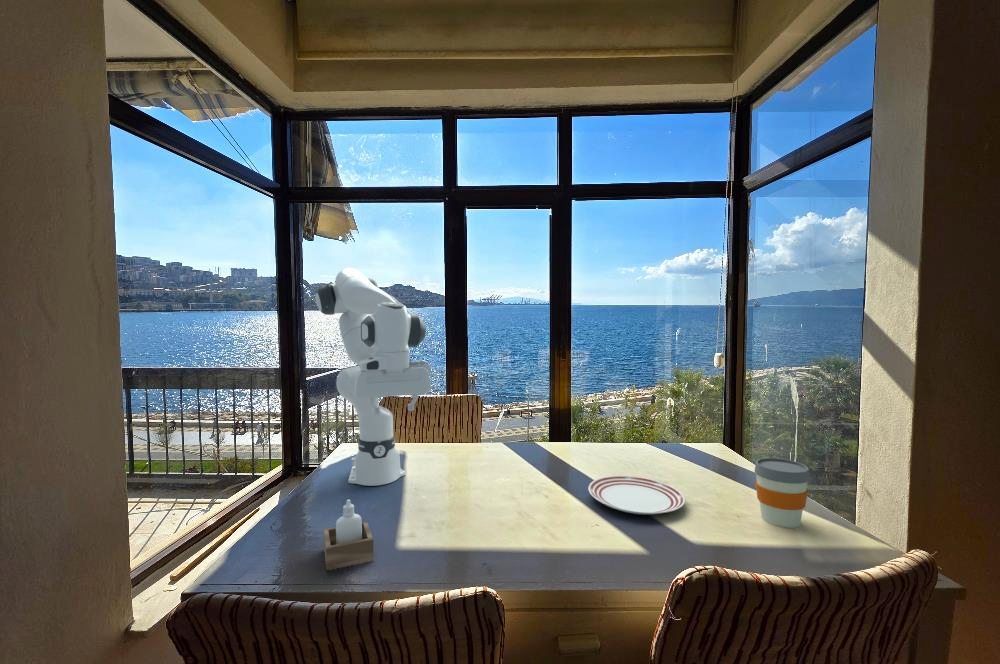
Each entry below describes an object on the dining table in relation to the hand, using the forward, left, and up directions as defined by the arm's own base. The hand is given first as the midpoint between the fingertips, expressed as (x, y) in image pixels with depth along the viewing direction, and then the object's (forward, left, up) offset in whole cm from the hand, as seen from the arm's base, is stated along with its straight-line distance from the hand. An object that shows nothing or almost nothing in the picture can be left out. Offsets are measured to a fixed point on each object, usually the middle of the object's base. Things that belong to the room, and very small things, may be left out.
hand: (393, 412), depth 126 cm
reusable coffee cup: (+45, +94, -29) cm, 108 cm away
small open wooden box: (+16, -14, -29) cm, 36 cm away
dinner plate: (+19, +67, -30) cm, 76 cm away
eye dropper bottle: (+16, -14, -28) cm, 35 cm away
